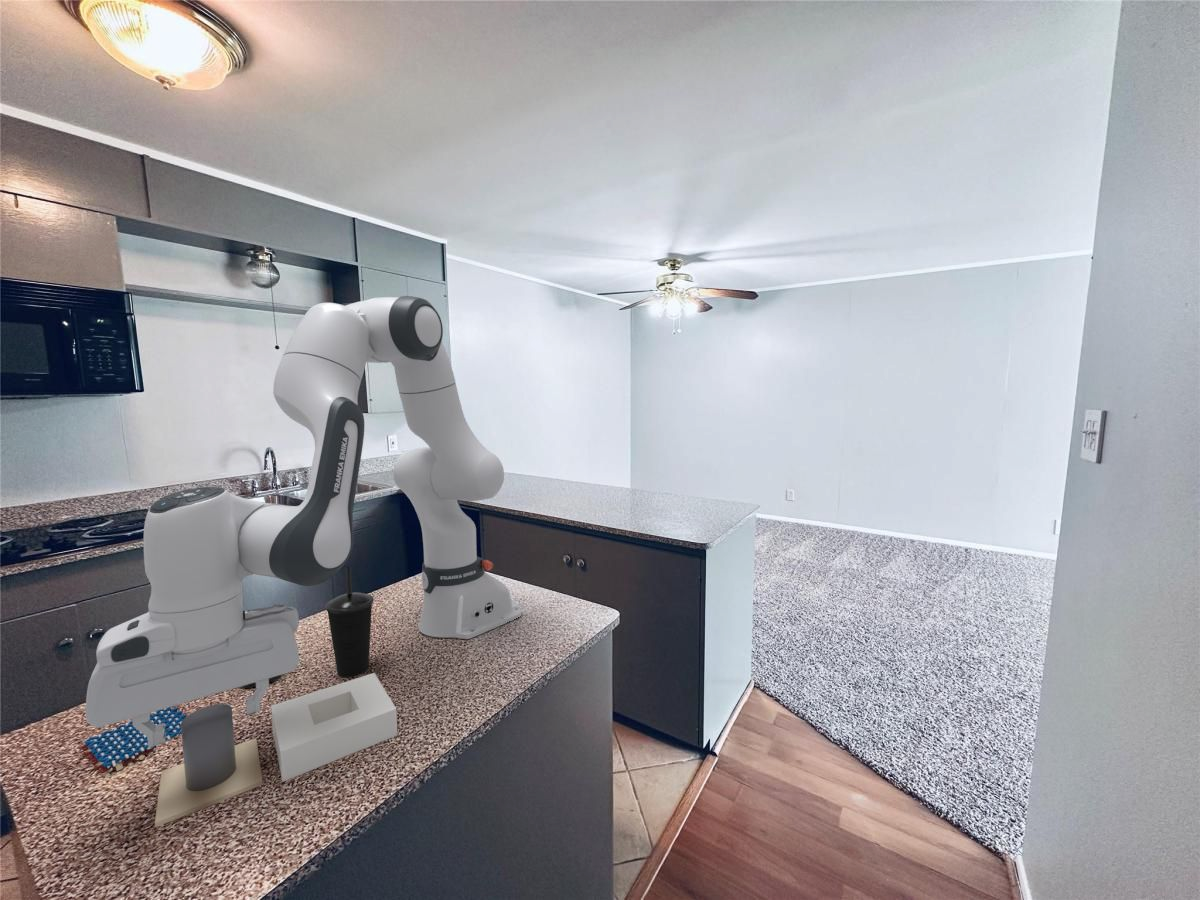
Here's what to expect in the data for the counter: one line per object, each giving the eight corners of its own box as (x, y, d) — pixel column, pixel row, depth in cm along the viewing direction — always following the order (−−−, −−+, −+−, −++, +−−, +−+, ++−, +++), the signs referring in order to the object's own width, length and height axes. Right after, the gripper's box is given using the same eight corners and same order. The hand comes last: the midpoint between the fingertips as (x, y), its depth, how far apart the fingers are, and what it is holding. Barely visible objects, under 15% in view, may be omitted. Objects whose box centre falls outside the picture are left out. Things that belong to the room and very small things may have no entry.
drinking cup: (345, 692, 83) (339, 577, 81) (320, 678, 87) (314, 569, 85) (385, 671, 89) (381, 564, 87) (360, 659, 93) (356, 557, 91)
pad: (256, 747, 69) (256, 737, 69) (263, 791, 61) (262, 780, 61) (162, 781, 63) (161, 770, 63) (156, 835, 55) (154, 822, 55)
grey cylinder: (235, 755, 66) (231, 699, 65) (236, 778, 62) (232, 718, 61) (186, 773, 62) (181, 714, 62) (185, 797, 59) (179, 735, 58)
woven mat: (78, 753, 69) (77, 740, 69) (174, 713, 78) (172, 701, 78) (101, 784, 63) (99, 769, 63) (201, 737, 72) (200, 724, 72)
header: (375, 701, 80) (374, 672, 79) (397, 741, 71) (396, 708, 70) (273, 738, 71) (270, 705, 71) (282, 788, 62) (280, 751, 61)
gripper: (294, 592, 69) (300, 685, 70) (86, 635, 56) (98, 747, 58) (301, 607, 64) (307, 706, 65) (75, 657, 51) (88, 780, 53)
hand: (207, 726), depth 61 cm, fingers open, 8 cm apart
